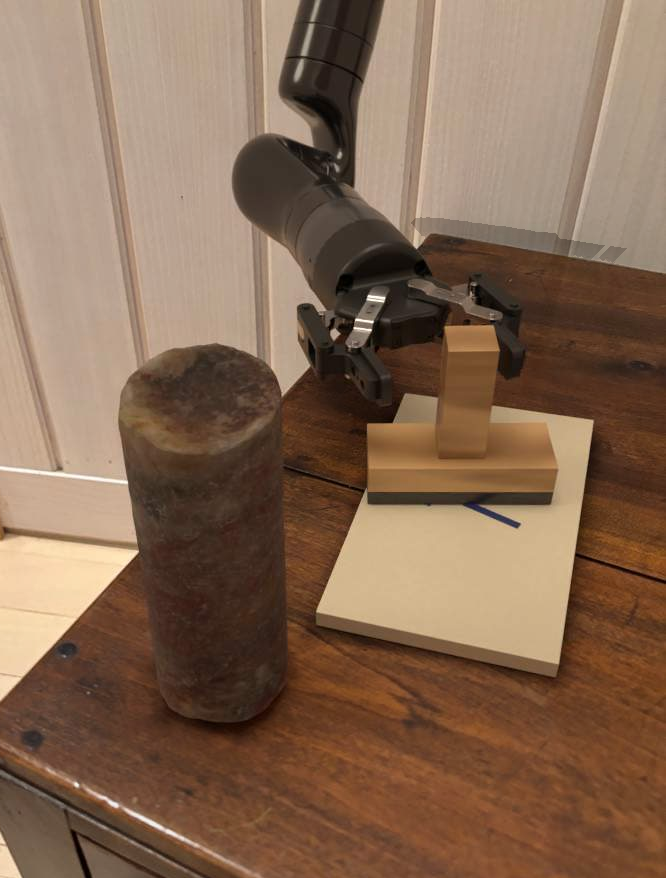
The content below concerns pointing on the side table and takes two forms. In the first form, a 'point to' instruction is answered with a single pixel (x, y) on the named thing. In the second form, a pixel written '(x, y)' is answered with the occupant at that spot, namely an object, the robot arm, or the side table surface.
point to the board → (467, 562)
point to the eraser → (462, 440)
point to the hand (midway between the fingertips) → (452, 380)
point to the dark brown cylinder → (210, 526)
